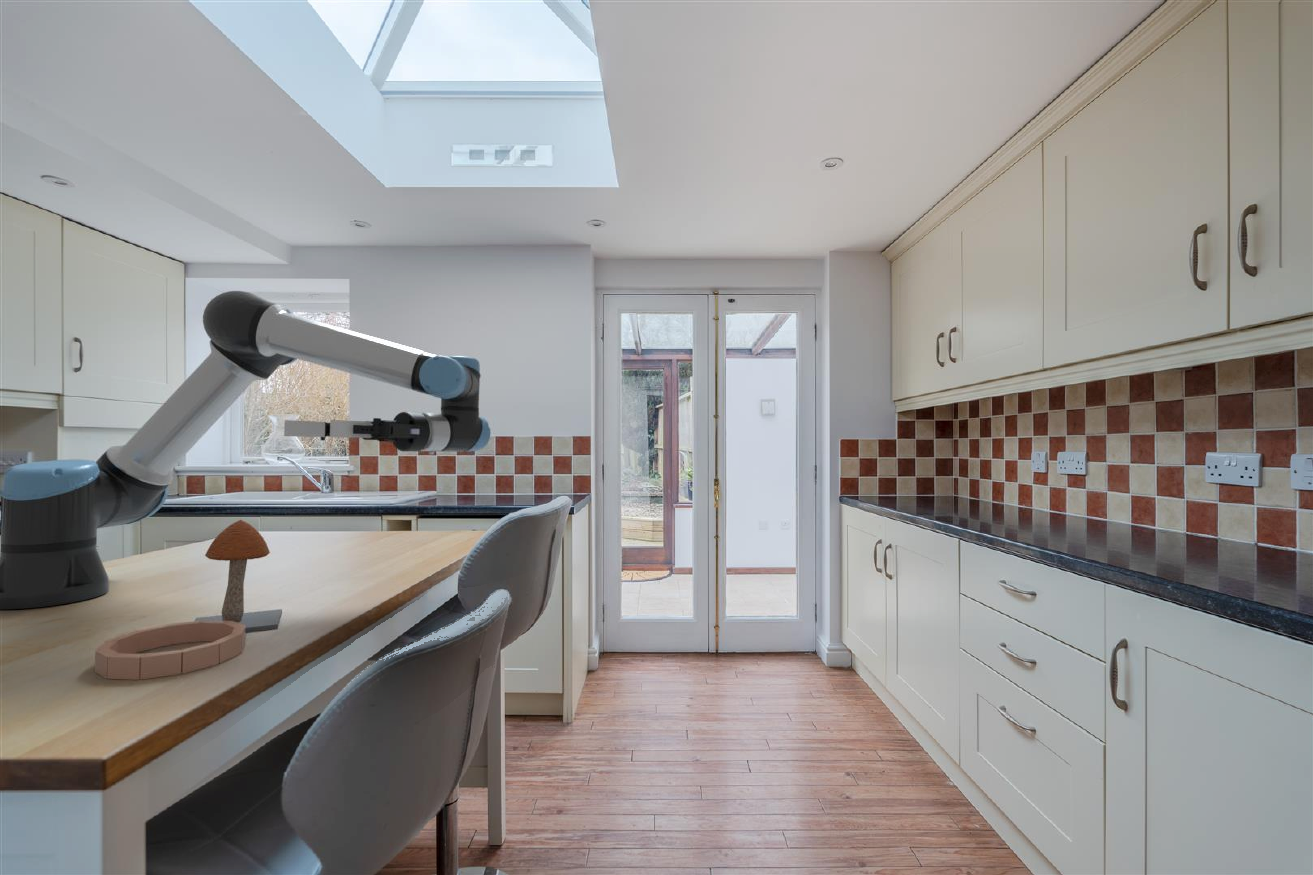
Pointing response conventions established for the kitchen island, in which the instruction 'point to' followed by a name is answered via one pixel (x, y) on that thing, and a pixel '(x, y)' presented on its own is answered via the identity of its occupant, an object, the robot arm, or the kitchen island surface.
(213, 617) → the mat
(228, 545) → the mushroom
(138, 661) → the ring
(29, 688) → the kitchen island surface
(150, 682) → the kitchen island surface
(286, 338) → the robot arm
